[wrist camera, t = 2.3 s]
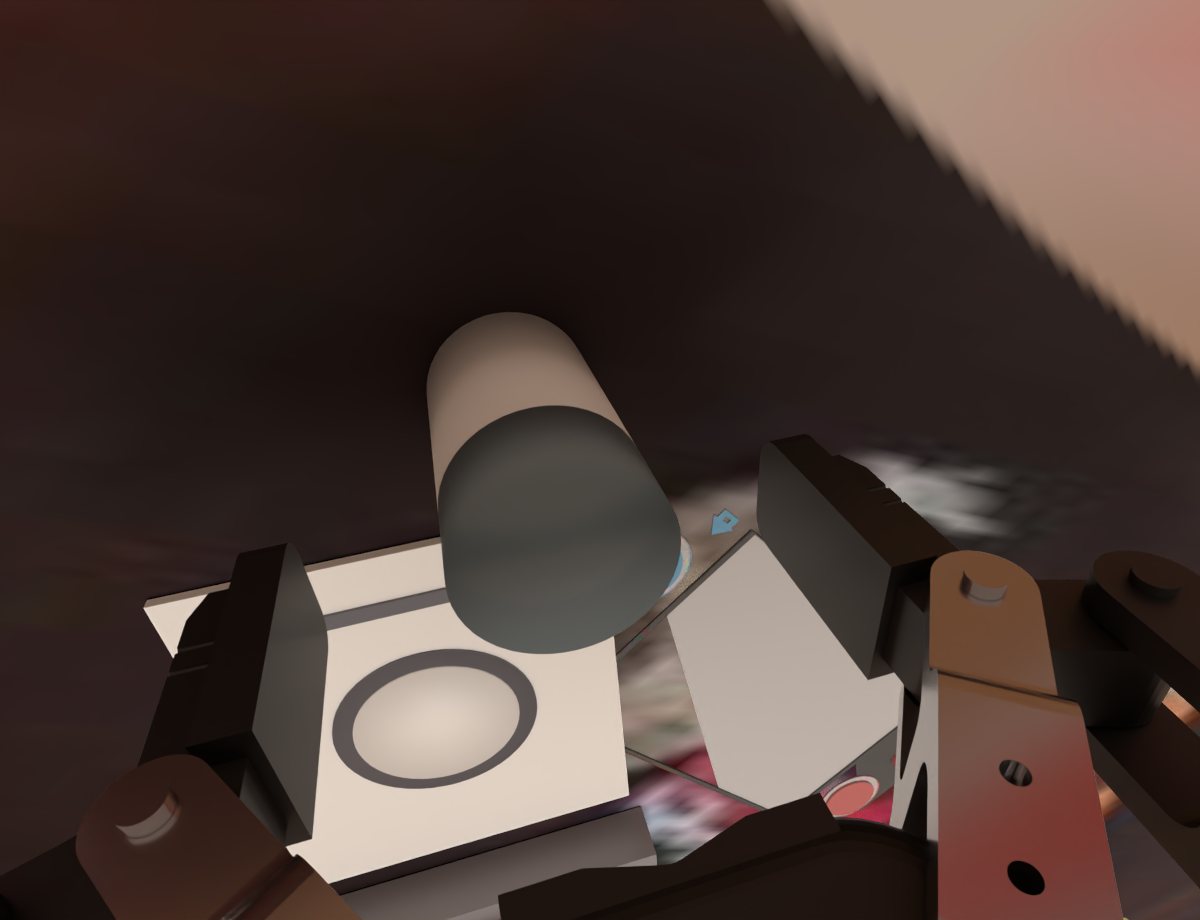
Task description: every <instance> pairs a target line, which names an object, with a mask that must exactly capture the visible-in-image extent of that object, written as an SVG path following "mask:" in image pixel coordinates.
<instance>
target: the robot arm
mask: <svg viewBox="0 0 1200 920" xmlns="http://www.w3.org/2000/svg"><path fill="white" fill-rule="evenodd" d="M757 522H758V527H759V530H760V533H761V536H762V538H763V540H764V542H765V544H766V545H767V547H768V548H769V550H770V551H771V552H772V554H773V555H774V556H775V558H776V559H777V560H778V561H779V563H780V564H781V565H782V567H783V568H784V569H785V571H786V572H787V573H788V575H789V576H790V577H791V579H792V580H793V581H794V583H795V584H796V585H797V587H798V588H799V589H800V591H801V592H802V593H803V595H804V596H805V597H806V599H807V600H808V601H809V603H810V604H811V605H812V607H813V608H814V609H815V611H816V612H817V613H818V615H819V616H820V617H821V619H822V620H823V621H824V623H825V624H826V625H827V627H828V628H829V629H830V631H831V632H832V633H833V635H834V636H835V637H836V639H837V640H838V641H839V642H840V644H841V645H842V646H843V648H844V649H845V650H846V652H847V653H848V654H849V656H850V657H851V658H852V660H853V661H854V662H855V664H856V665H857V666H858V668H859V669H860V670H861V672H862V673H863V674H864V676H865V677H866V678H867V680H871V679H874V678H877V677H881V676H884V675H888V674H891V673H895V674H896V675H897V677H898V678H899V679H900V680H901V682H902V687H901V691H900V696H899V711H898V729H897V748H896V766H895V785H894V798H893V807H892V814H891V820H890V825H887V824H884V823H880V822H875V821H870V820H865V819H858V818H848V817H833V815H832V813H831V811H830V810H829V808H828V806H827V805H826V803H825V801H824V799H823V798H822V796H821V794H820V793H817V794H814V795H810V796H807V797H804V798H801V799H798V800H795V801H792V802H788V803H785V804H782V805H779V806H776V807H773V808H770V809H767V810H763V811H760V812H757V813H754V814H751V815H748V816H745V817H744V818H742V819H741V820H739V821H738V822H736V823H735V824H733V825H732V826H730V827H729V828H727V829H726V830H724V831H723V832H721V833H720V834H719V835H717V836H716V837H714V838H713V839H711V840H710V841H708V842H707V843H705V844H704V845H702V846H701V847H699V848H698V849H696V850H695V851H693V852H692V853H690V854H689V855H687V856H686V857H684V858H683V859H681V860H680V861H678V862H676V863H672V864H668V865H652V866H627V867H603V868H582V869H579V870H575V871H572V872H569V873H566V874H563V875H560V876H557V877H553V878H550V879H547V880H544V881H541V882H538V883H535V884H532V885H528V886H525V887H522V888H519V889H516V890H513V891H510V892H506V893H503V894H500V895H498V902H499V909H500V917H501V920H1123V915H1122V910H1121V905H1120V900H1119V895H1118V890H1117V885H1116V880H1115V875H1114V870H1113V865H1112V860H1111V855H1110V850H1109V845H1108V840H1107V835H1106V830H1105V825H1104V819H1103V814H1102V809H1101V804H1100V799H1099V794H1098V789H1097V784H1096V779H1095V774H1094V770H1095V772H1096V773H1097V774H1098V775H1099V776H1100V777H1101V778H1102V779H1103V781H1104V782H1105V783H1106V784H1107V785H1108V786H1109V787H1110V788H1111V790H1112V791H1113V792H1114V793H1115V794H1116V795H1117V796H1118V797H1119V798H1120V800H1121V801H1122V802H1123V803H1124V804H1125V805H1126V806H1127V807H1128V809H1129V810H1130V811H1131V812H1132V813H1133V814H1134V815H1135V816H1136V818H1137V819H1138V820H1139V821H1140V822H1141V823H1142V824H1143V825H1144V826H1145V828H1146V829H1147V830H1148V831H1149V832H1150V833H1151V834H1152V835H1153V837H1154V838H1155V839H1156V840H1157V841H1158V842H1159V843H1160V844H1161V846H1162V847H1163V848H1164V849H1165V850H1166V851H1167V852H1168V853H1169V854H1170V856H1171V857H1172V858H1173V859H1174V860H1175V861H1176V862H1177V863H1178V865H1179V866H1180V867H1181V868H1182V869H1183V870H1184V871H1185V872H1186V874H1187V875H1188V876H1189V877H1190V878H1191V879H1192V880H1193V881H1194V882H1195V884H1196V885H1197V886H1198V887H1199V888H1200V737H1199V736H1198V735H1197V734H1196V733H1194V732H1193V731H1192V730H1191V729H1190V728H1189V727H1188V726H1187V725H1186V724H1185V723H1184V722H1183V721H1181V720H1180V719H1179V718H1178V717H1177V716H1176V715H1175V714H1174V713H1173V712H1172V711H1171V710H1170V709H1168V708H1167V707H1166V706H1165V705H1164V704H1163V703H1162V701H1163V700H1164V698H1165V696H1166V694H1167V693H1168V691H1169V689H1170V687H1171V688H1173V689H1174V690H1175V691H1176V692H1177V693H1178V694H1179V695H1180V696H1182V697H1183V698H1184V699H1185V700H1186V701H1187V702H1188V703H1189V704H1191V705H1192V706H1193V707H1194V708H1195V709H1196V710H1197V711H1198V712H1199V713H1200V576H1198V575H1197V574H1195V573H1194V572H1192V571H1191V570H1189V569H1188V568H1186V567H1184V566H1182V565H1180V564H1178V563H1176V562H1173V561H1171V560H1169V559H1166V558H1163V557H1160V556H1157V555H1153V554H1149V553H1144V552H1138V551H1114V552H1109V553H1106V554H1104V555H1102V556H1100V557H1099V558H1098V559H1097V560H1096V561H1095V563H1094V565H1093V567H1092V569H1091V572H1090V574H1089V577H1088V579H1087V580H1033V578H1032V577H1031V576H1030V575H1029V574H1028V573H1027V572H1026V571H1024V570H1023V569H1022V568H1020V567H1019V566H1017V565H1016V564H1014V563H1012V562H1010V561H1008V560H1006V559H1003V558H1001V557H998V556H995V555H992V554H988V553H984V552H977V551H959V550H958V549H957V548H956V547H955V546H954V545H952V544H951V543H950V542H949V541H948V540H947V539H946V538H945V537H943V536H942V535H941V534H940V533H939V532H938V531H937V530H936V529H935V528H933V527H932V526H931V525H930V524H929V523H928V522H927V521H926V520H924V519H923V518H922V517H921V516H920V515H919V514H918V513H917V512H916V511H914V510H913V509H912V508H911V507H910V506H909V505H908V504H907V503H905V502H903V503H902V502H901V498H900V497H899V496H898V495H897V494H895V493H894V492H893V491H892V490H891V489H890V488H886V487H885V484H884V483H883V482H882V481H881V480H880V479H879V478H877V477H876V476H875V475H874V474H873V473H872V472H871V471H870V470H869V469H867V468H866V467H864V466H862V465H860V464H858V463H856V462H854V461H851V460H849V459H847V458H845V457H843V456H841V455H836V456H831V455H830V454H829V453H828V452H827V451H826V450H824V449H823V448H822V447H821V446H820V445H819V444H818V443H817V442H816V441H815V440H814V439H813V438H812V437H810V436H809V435H807V434H802V435H798V436H793V437H788V438H784V439H779V440H774V441H770V442H766V443H764V444H763V446H762V448H761V452H760V465H759V481H758V497H757ZM177 650H178V653H176V654H175V655H174V658H173V661H172V664H171V667H170V671H169V672H170V677H167V680H166V683H165V686H164V689H163V692H162V695H161V698H160V701H159V704H158V707H157V710H156V713H155V716H154V719H153V722H152V725H151V728H150V731H149V734H148V737H147V740H146V743H145V746H144V749H143V752H142V755H141V758H140V761H139V764H138V767H137V768H135V769H133V770H131V771H130V772H128V773H127V774H125V775H124V776H122V777H121V778H119V779H118V780H117V781H116V782H114V783H113V784H112V785H111V786H110V787H109V788H108V789H107V790H106V791H104V792H103V793H102V794H101V795H100V797H99V798H98V799H97V800H96V801H95V802H94V804H93V805H92V806H91V808H90V809H89V811H88V812H87V814H86V815H85V817H84V819H83V821H82V823H81V825H80V828H79V830H78V833H77V835H76V836H74V837H72V838H71V839H69V840H67V841H66V842H64V843H62V844H60V845H59V846H57V847H55V848H53V849H51V850H49V851H47V852H45V853H43V854H41V855H39V856H38V857H36V858H34V859H32V860H30V861H28V862H26V863H24V864H22V865H20V866H19V867H17V868H15V869H13V870H11V871H9V872H7V873H5V874H3V875H1V876H0V920H362V919H361V918H360V917H359V916H358V915H357V914H356V913H355V912H354V911H353V910H352V909H351V908H350V907H349V906H348V904H347V903H346V902H345V901H344V900H343V899H342V898H341V897H340V896H339V895H338V894H337V893H336V892H335V891H334V889H333V888H332V887H331V886H330V885H329V884H328V883H327V882H326V881H325V880H324V879H323V878H322V877H321V876H320V874H319V873H318V872H317V871H316V870H315V869H314V868H313V867H312V866H311V865H310V864H309V863H308V862H307V861H306V860H305V859H304V858H302V857H301V856H300V855H298V854H296V855H295V856H294V857H293V856H292V855H291V854H290V853H289V852H288V851H287V850H286V849H285V847H286V846H290V845H293V844H297V843H300V842H304V841H307V840H311V839H312V835H313V824H314V812H315V800H316V788H317V777H318V765H319V753H320V741H321V730H322V718H323V706H324V695H325V683H326V671H327V659H328V635H327V628H326V623H325V619H324V616H323V613H322V610H321V607H320V605H319V602H318V600H317V597H316V595H315V592H314V590H313V588H312V585H311V583H310V580H309V578H308V575H307V573H306V570H305V568H304V565H303V563H302V560H301V558H300V555H299V553H298V551H297V549H296V547H295V546H294V545H293V544H292V543H286V544H281V545H276V546H272V547H267V548H262V549H258V550H253V551H248V552H244V553H240V554H239V555H238V557H237V560H236V563H235V567H234V571H233V574H232V578H231V582H230V585H229V589H225V590H220V591H216V592H211V593H208V595H207V596H206V597H205V598H204V599H203V601H202V602H201V603H200V604H199V605H198V607H197V608H196V609H195V610H194V611H193V613H192V614H191V615H190V616H189V618H188V619H187V620H186V622H185V625H184V628H183V631H182V634H181V637H180V640H179V643H178V646H177Z"/></svg>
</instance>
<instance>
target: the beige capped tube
mask: <svg viewBox="0 0 1200 920" xmlns="http://www.w3.org/2000/svg"><path fill="white" fill-rule="evenodd" d="M427 403H428V414H429V424H430V434H431V445H432V455H433V465H434V476H435V486H436V497H437V507H438V517H439V528H440V538H441V548H442V559H443V569H444V579H445V586H446V592H447V596H448V599H449V601H450V604H451V606H452V608H453V610H454V612H455V613H456V615H457V617H458V618H459V619H460V620H461V621H462V623H463V624H464V625H465V626H466V627H467V628H468V629H469V630H470V631H472V632H473V633H474V634H475V635H477V636H478V637H480V638H482V639H483V640H485V641H487V642H489V643H491V644H493V645H495V646H498V647H501V648H504V649H507V650H510V651H515V652H520V653H528V654H556V653H565V652H570V651H575V650H579V649H583V648H586V647H589V646H593V645H595V644H598V643H600V642H603V641H605V640H607V639H609V638H611V637H613V636H615V635H617V634H619V633H621V632H622V631H624V630H625V629H627V628H628V627H630V626H631V625H633V624H634V623H635V622H637V621H638V620H639V619H640V618H642V617H643V616H644V615H645V614H646V613H647V612H648V611H649V610H650V609H651V608H652V607H653V606H654V605H655V604H656V602H657V601H658V600H659V599H660V598H661V596H662V595H663V593H664V592H665V590H666V589H667V588H668V586H669V584H670V582H671V580H672V578H673V576H674V574H675V571H676V568H677V565H678V561H679V557H680V552H681V533H680V527H679V523H678V519H677V516H676V514H675V512H674V510H673V508H672V506H671V504H670V502H669V501H668V499H667V497H666V496H665V494H664V492H663V491H662V489H661V487H660V486H659V484H658V482H657V481H656V479H655V477H654V476H653V474H652V472H651V471H650V469H649V467H648V466H647V464H646V462H645V460H644V459H643V457H642V455H641V454H640V452H639V450H638V449H637V447H636V445H635V444H634V442H633V440H632V439H631V437H630V435H629V434H628V432H627V430H626V429H625V427H624V425H623V424H622V422H621V420H620V419H619V417H618V415H617V414H616V412H615V410H614V409H613V407H612V405H611V404H610V402H609V400H608V399H607V397H606V395H605V394H604V392H603V390H602V389H601V387H600V385H599V384H598V382H597V380H596V379H595V377H594V375H593V374H592V372H591V370H590V369H589V367H588V365H587V363H586V362H585V360H584V358H583V357H582V355H581V353H580V352H579V350H578V348H577V347H576V346H575V344H574V343H573V341H572V340H571V339H570V338H569V337H568V335H567V334H566V333H565V332H563V331H562V330H561V329H560V328H559V327H557V326H556V325H554V324H552V323H551V322H549V321H547V320H545V319H543V318H540V317H537V316H534V315H531V314H526V313H519V312H502V313H494V314H490V315H486V316H483V317H480V318H477V319H475V320H473V321H471V322H469V323H467V324H465V325H463V326H462V327H461V328H459V329H458V330H456V331H455V332H454V333H453V334H452V335H451V336H449V337H448V338H447V339H446V341H445V342H444V343H443V344H442V345H441V347H440V348H439V350H438V351H437V353H436V355H435V356H434V359H433V361H432V363H431V366H430V369H429V373H428V377H427Z"/></svg>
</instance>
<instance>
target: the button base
mask: <svg viewBox="0 0 1200 920" xmlns="http://www.w3.org/2000/svg"><path fill="white" fill-rule="evenodd" d="M652 865H657V858H656V852H655V849H654V846H653V843H652V840H651V837H650V833H649V830H648V827H647V824H646V821H645V818H644V815H643V812H642V809H641V807H637V808H634V809H630V810H627V811H624V812H620V813H617V814H614V815H610V816H607V817H604V818H600V819H597V820H593V821H590V822H587V823H583V824H580V825H577V826H573V827H570V828H567V829H563V830H560V831H556V832H553V833H550V834H546V835H543V836H540V837H536V838H533V839H530V840H526V841H523V842H519V843H516V844H513V845H509V846H506V847H503V848H499V849H496V850H493V851H489V852H486V853H482V854H479V855H476V856H472V857H469V858H466V859H462V860H459V861H456V862H452V863H449V864H445V865H442V866H439V867H435V868H432V869H429V870H425V871H422V872H419V873H415V874H412V875H408V876H405V877H402V878H398V879H395V880H392V881H388V882H385V883H381V884H378V885H375V886H371V887H368V888H365V889H361V890H358V891H355V892H351V893H348V894H344V895H341V896H340V897H341V898H342V899H343V900H344V901H345V902H346V903H347V904H348V906H349V907H350V908H351V909H352V910H353V911H354V912H355V913H356V914H357V915H358V916H359V917H360V918H361V919H362V920H501V917H500V909H499V902H498V895H500V894H503V893H506V892H510V891H513V890H516V889H519V888H522V887H525V886H528V885H532V884H535V883H538V882H541V881H544V880H547V879H550V878H553V877H557V876H560V875H563V874H566V873H569V872H572V871H575V870H579V869H582V868H603V867H627V866H652Z"/></svg>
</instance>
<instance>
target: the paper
mask: <svg viewBox="0 0 1200 920" xmlns="http://www.w3.org/2000/svg"><path fill="white" fill-rule="evenodd" d="M304 568H305V570H306V573H307V575H308V578H309V580H310V583H311V585H312V588H313V590H314V592H315V595H316V597H317V600H318V602H319V605H320V607H321V610H322V613H323V616H324V619H325V623H326V628H327V635H328V659H327V671H326V683H325V695H324V706H323V718H322V730H321V741H320V753H319V765H318V777H317V788H316V800H315V812H314V824H313V835H312V839H311V840H307V841H304V842H300V843H297V844H293V845H290V846H286V847H287V849H288V850H289V852H290V854H291V855H292V856H293V857H294V856H295V855H296V854H298V855H300V856H301V857H302V858H304V859H305V860H306V861H307V862H308V863H309V864H310V865H311V866H312V867H313V868H314V869H315V870H316V871H317V872H318V873H319V874H320V876H321V877H322V878H323V879H324V880H325V881H326V882H327V883H332V882H335V881H339V880H342V879H345V878H349V877H352V876H356V875H359V874H363V873H366V872H369V871H373V870H376V869H380V868H383V867H386V866H390V865H393V864H397V863H400V862H403V861H407V860H410V859H414V858H417V857H420V856H424V855H427V854H431V853H434V852H437V851H441V850H444V849H448V848H451V847H455V846H458V845H461V844H465V843H468V842H472V841H475V840H478V839H482V838H485V837H489V836H492V835H495V834H499V833H502V832H506V831H509V830H512V829H516V828H519V827H523V826H526V825H529V824H533V823H536V822H540V821H543V820H546V819H550V818H553V817H557V816H560V815H564V814H567V813H570V812H574V811H577V810H581V809H584V808H587V807H591V806H594V805H598V804H601V803H604V802H608V801H611V800H615V799H618V798H621V797H625V796H628V795H629V790H628V779H627V769H626V758H625V748H624V738H623V727H622V717H621V706H620V696H619V685H618V675H617V665H616V654H615V644H614V636H613V637H611V638H609V639H607V640H605V641H603V642H600V643H598V644H595V645H593V646H589V647H586V648H583V649H579V650H575V651H570V652H565V653H556V654H528V653H520V652H515V651H510V650H507V649H504V648H501V647H498V646H495V645H493V644H491V643H489V642H487V641H485V640H483V639H482V638H480V637H478V636H477V635H475V634H474V633H473V632H472V631H470V630H469V629H468V628H467V627H466V626H465V625H464V624H463V623H462V621H461V620H460V619H459V618H458V617H457V615H456V613H455V612H454V610H453V608H452V606H451V604H450V601H449V599H448V596H447V592H446V586H445V579H444V569H443V559H442V548H441V538H440V537H437V538H432V539H427V540H423V541H418V542H414V543H409V544H404V545H400V546H395V547H390V548H386V549H381V550H377V551H372V552H367V553H363V554H358V555H353V556H349V557H344V558H340V559H335V560H330V561H326V562H321V563H317V564H312V565H307V566H304ZM229 585H230V582H229V583H224V584H219V585H215V586H210V587H206V588H201V589H196V590H192V591H187V592H182V593H178V594H173V595H169V596H164V597H159V598H155V599H150V600H147V601H146V603H145V606H144V610H145V612H146V613H147V615H148V617H149V618H150V620H151V622H152V623H153V625H154V627H155V628H156V630H157V632H158V633H159V635H160V637H161V638H162V640H163V642H164V643H165V645H166V647H167V648H168V650H169V652H170V653H171V655H172V657H173V658H174V655H175V654H176V653H178V650H177V646H178V643H179V640H180V637H181V634H182V631H183V628H184V625H185V622H186V620H187V619H188V618H189V616H190V615H191V614H192V613H193V611H194V610H195V609H196V608H197V607H198V605H199V604H200V603H201V602H202V601H203V599H204V598H205V597H206V596H207V595H208V593H211V592H216V591H220V590H225V589H229Z"/></svg>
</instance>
